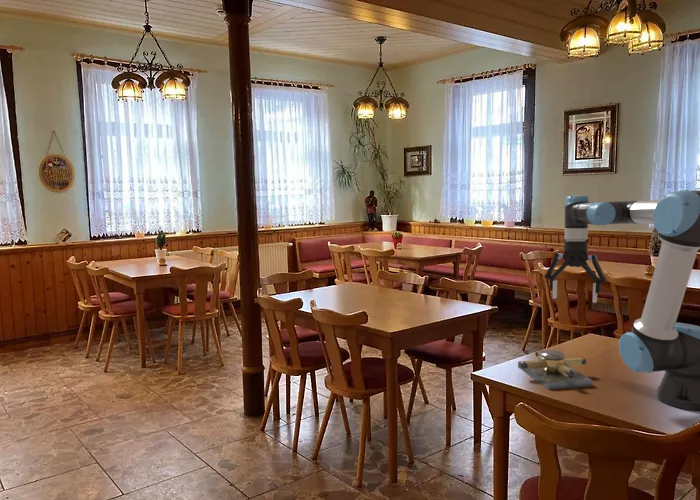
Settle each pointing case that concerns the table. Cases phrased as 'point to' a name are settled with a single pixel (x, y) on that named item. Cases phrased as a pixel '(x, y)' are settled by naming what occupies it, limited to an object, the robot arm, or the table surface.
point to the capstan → (553, 362)
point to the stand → (557, 378)
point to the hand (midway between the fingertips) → (574, 300)
